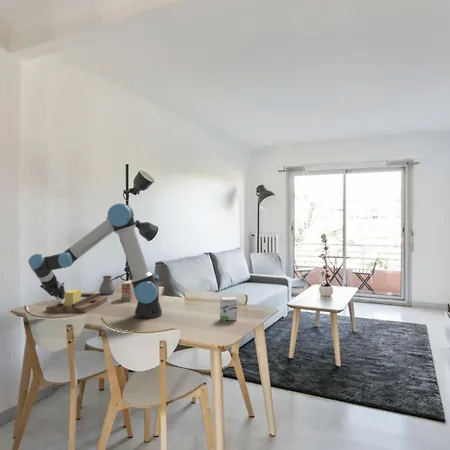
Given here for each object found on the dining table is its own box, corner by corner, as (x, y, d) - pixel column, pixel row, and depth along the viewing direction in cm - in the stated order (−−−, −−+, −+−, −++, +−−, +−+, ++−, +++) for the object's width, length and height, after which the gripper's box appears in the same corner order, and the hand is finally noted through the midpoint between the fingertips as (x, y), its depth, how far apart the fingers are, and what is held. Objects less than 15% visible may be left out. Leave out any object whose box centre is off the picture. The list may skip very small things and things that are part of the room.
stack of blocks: (134, 295, 276) (134, 278, 276) (142, 295, 275) (142, 278, 275) (121, 301, 255) (121, 282, 255) (130, 301, 254) (130, 283, 254)
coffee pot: (95, 294, 279) (95, 273, 278) (108, 291, 288) (108, 271, 288) (115, 297, 267) (115, 276, 267) (128, 294, 277) (128, 274, 277)
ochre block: (81, 302, 236) (80, 289, 236) (73, 306, 226) (73, 292, 226) (71, 302, 237) (71, 289, 237) (63, 306, 227) (63, 292, 227)
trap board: (107, 301, 254) (107, 294, 254) (85, 312, 222) (85, 304, 222) (72, 300, 256) (72, 293, 256) (46, 312, 225) (46, 303, 225)
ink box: (221, 321, 204) (221, 299, 204) (219, 319, 209) (219, 297, 209) (237, 320, 206) (237, 298, 206) (235, 318, 211) (235, 296, 211)
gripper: (32, 282, 202) (49, 307, 218) (55, 282, 200) (71, 307, 217) (38, 271, 207) (54, 295, 224) (61, 271, 206) (76, 296, 222)
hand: (62, 301), depth 220 cm, fingers closed
